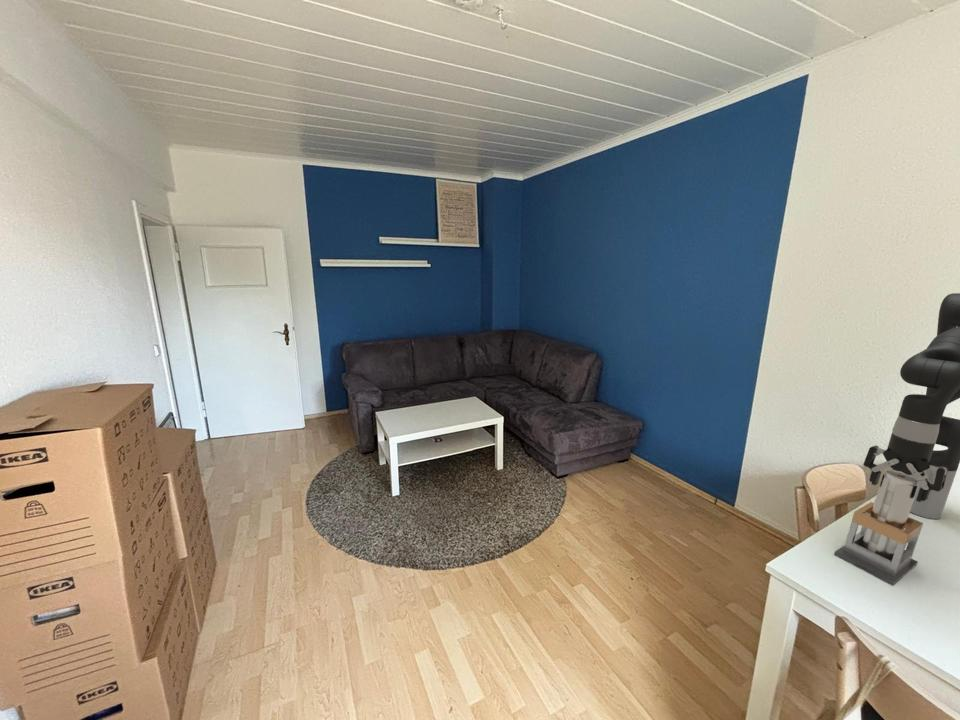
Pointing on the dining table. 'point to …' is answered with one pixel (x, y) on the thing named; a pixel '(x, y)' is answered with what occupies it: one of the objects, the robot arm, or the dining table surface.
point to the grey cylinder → (890, 510)
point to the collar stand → (873, 561)
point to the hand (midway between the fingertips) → (895, 492)
